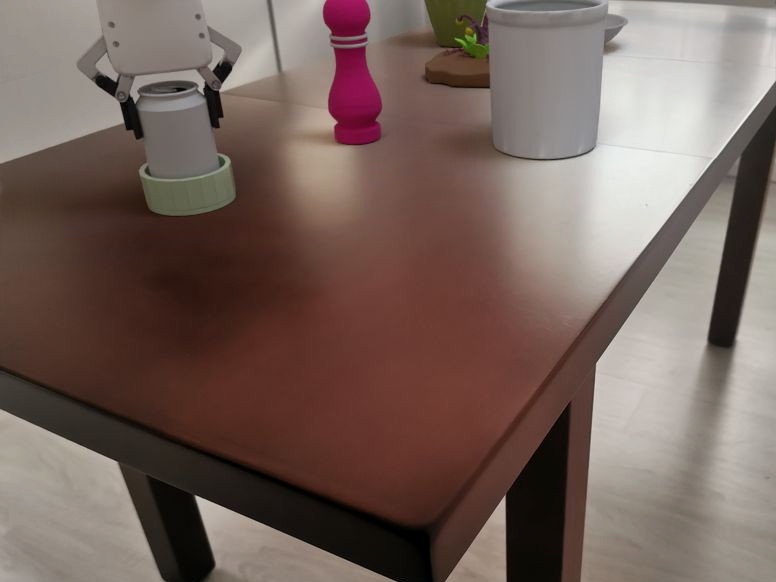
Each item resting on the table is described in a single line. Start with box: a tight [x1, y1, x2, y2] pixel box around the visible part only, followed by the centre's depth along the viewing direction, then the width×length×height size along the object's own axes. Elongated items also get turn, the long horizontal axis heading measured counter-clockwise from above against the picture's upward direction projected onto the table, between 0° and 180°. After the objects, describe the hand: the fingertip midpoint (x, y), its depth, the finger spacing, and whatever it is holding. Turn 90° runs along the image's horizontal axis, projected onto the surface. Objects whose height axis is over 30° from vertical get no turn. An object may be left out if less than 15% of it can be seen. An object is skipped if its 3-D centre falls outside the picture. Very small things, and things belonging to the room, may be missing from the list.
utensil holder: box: [485, 0, 609, 160], centre depth 102 cm, size 15×15×18 cm
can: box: [135, 79, 220, 179], centre depth 88 cm, size 8×8×12 cm
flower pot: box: [423, 0, 488, 48], centre depth 157 cm, size 15×15×16 cm
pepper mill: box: [322, 0, 383, 146], centre depth 105 cm, size 7×7×20 cm
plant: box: [424, 11, 490, 88], centre depth 136 cm, size 20×20×11 cm
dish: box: [604, 13, 629, 44], centre depth 154 cm, size 18×14×5 cm
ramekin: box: [138, 152, 237, 217], centre depth 91 cm, size 10×10×4 cm
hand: (176, 129), depth 88 cm, fingers closed on can, 7 cm apart
